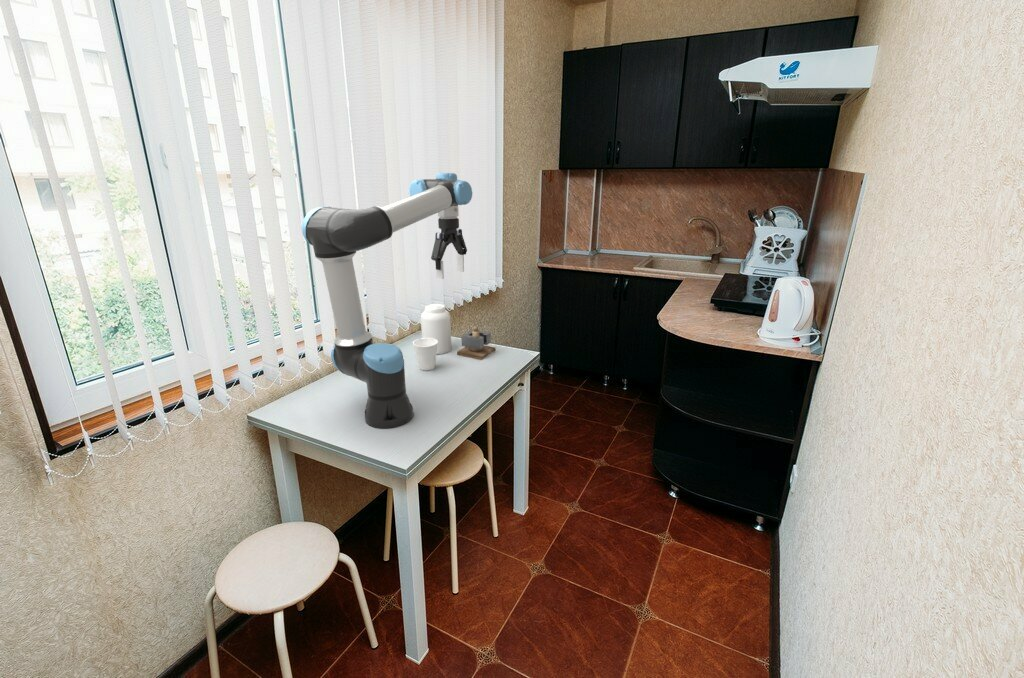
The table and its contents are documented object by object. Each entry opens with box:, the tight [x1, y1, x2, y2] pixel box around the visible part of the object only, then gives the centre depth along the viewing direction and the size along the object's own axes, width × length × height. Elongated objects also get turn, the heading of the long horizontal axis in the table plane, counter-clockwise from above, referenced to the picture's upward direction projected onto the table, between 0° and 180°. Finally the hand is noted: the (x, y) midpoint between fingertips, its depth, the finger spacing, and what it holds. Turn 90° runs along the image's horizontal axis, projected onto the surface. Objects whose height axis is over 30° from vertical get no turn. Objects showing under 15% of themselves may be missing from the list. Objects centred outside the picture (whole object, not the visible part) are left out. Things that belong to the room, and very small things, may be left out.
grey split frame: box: [460, 329, 492, 349], centre depth 202 cm, size 9×9×4 cm
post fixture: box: [456, 325, 496, 361], centre depth 202 cm, size 12×12×12 cm
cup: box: [412, 337, 438, 371], centre depth 187 cm, size 10×10×11 cm
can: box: [420, 303, 452, 355], centre depth 204 cm, size 12×12×20 cm
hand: (450, 274), depth 181 cm, fingers open, 13 cm apart
